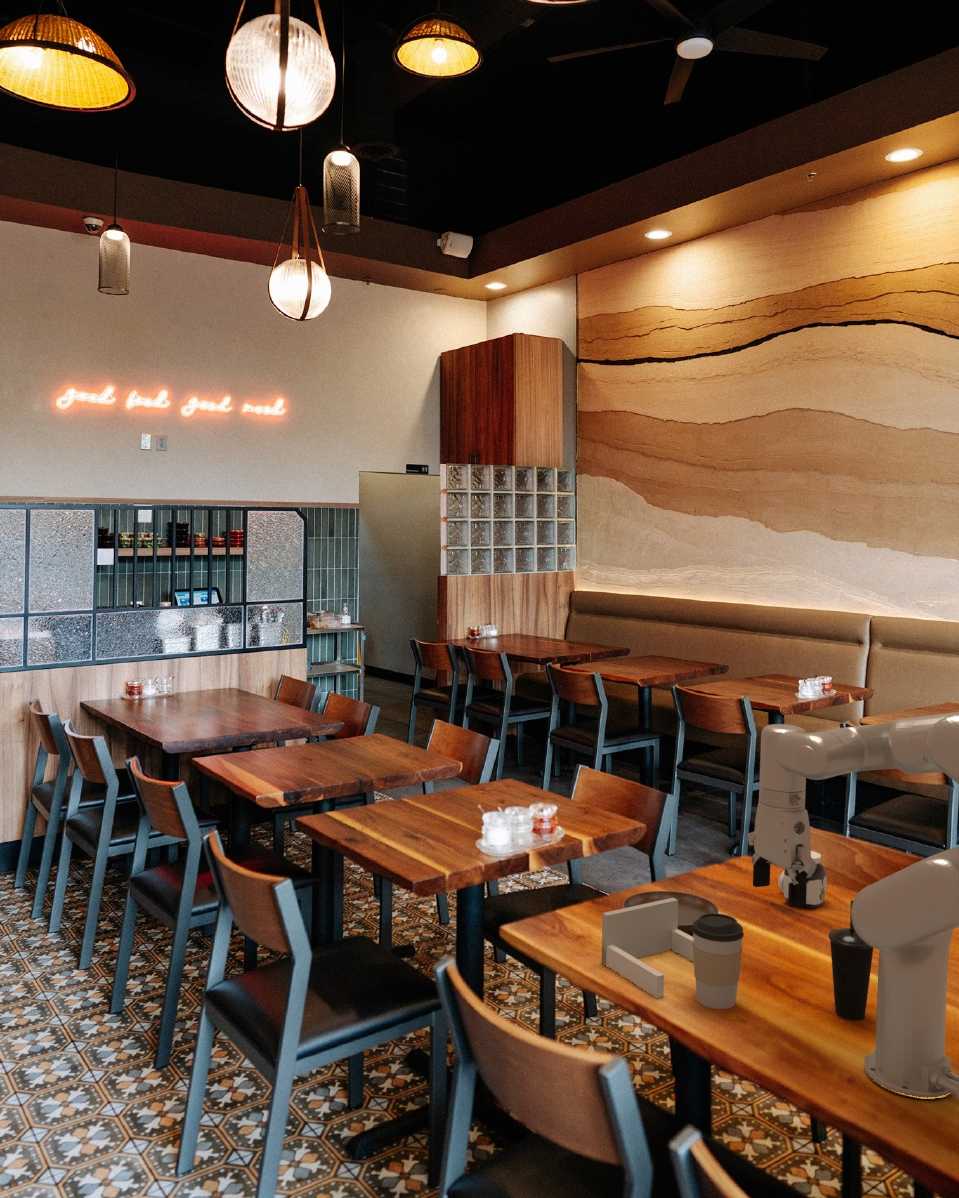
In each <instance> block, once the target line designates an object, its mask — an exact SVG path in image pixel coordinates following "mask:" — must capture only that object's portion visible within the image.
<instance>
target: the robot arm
mask: <svg viewBox="0 0 959 1198" xmlns="http://www.w3.org/2000/svg"><path fill="white" fill-rule="evenodd" d="M759 754H760V755H759V759H760V762H759V784H758V785H759V787H758V788H759V791H758V802H757V803H758V804H757V808H756V809H757V810H756V814H755V820H754V821H755V822H754V831H751V832H748V833H747V834H746V836H747V837H746V838H747V842H748V850H749V853H750V854H751V859H750V861H751V863H752V864H753V865H752V866H753V867H752V868H753V869H752V887H755V888H760V887H769V886H770V884H771V863H772V864H774V865H776V866H777V867H779V868H781V869H784V870H785V869H787V871H788V874H789V876H790V879H791V881H792V883H789V891H788V902H787V904H788V907H790V908H799V906H805V905H806V892H807V883H809V882H810V879H811V878H812V877H813V873H814V871H815V869H816V867H817V864H816V862H815V861H814V860H813V859H812V857H811V851H812V850H811V849H812V846H811V844H812V842H811V828H810V820H809V819H810V818H809V814H808V813H809V812H808V810H807V809H806V790H807V789H806V785H807V780H806V779H809V780H815V781H819V780H820V781H822V780H826V779H829V778H834V777H836V776H840V775H846V774H850V773H857V772H865V771H866V772H867V771H877V770H895V769H897V770H900V771H901V772H902V773H904V774H906V775H914V776H915V775H924V774H936V773H939V774H940V773H944V774H945V775H946V776H948V777H949V778H950V779H951V780H952V781H954V782H955V783H956V784H957V785H959V711H955V712H948V713H947V712H946V713H937V714H931V715H922V716H913V717H904V718H897V719H894V720H893V721H889V722H882V723H874V724H873V723H872V724H863V725H857V726H856V725H855V726H847V727H840V728H833V729H827V730H821V731H817V732H816V731H815V732H810V733H807V732H806V730H805V729H804V728H802V727H800V726H797V725H793V724H785V723H775V724H768V725H766V726H764V727H763V728H762V731H761V735H760V753H759ZM792 863H795V864H793V865H792ZM795 870H799V874H798V875H796V873H795ZM852 901H853V904H852V908H851V907H850V911H851V920H852V924H853V927H854V929H855V931H856V933H857V934H858V935H859V937H860V938H861V939H862V940H863V941H864V942H865V943H867V944H868V945H870V946H871V947H873V949H876V950H878V951H879V953H878V965H877V967H878V969H877V995H876V996H877V998H876V1028H875V1029H876V1033H875V1034H876V1035H875V1036H876V1037H875V1051H872V1052H870V1053H868V1054H867V1055H866V1057H865V1059H864V1064H863V1065H864V1071H865V1073H866V1075H867V1074H868V1075H867V1077H869V1076H870V1077H869V1079H871V1078H872V1079H873V1080H872V1079H871V1080H872V1081H873V1082H874V1081H875V1082H877V1083H879V1084H880V1085H883V1086H884V1087H886V1088H888V1089H890V1090H894V1091H896V1092H900V1093H904V1094H906V1095H912V1096H916V1097H917V1096H918V1097H927V1098H928V1097H938V1096H942V1095H946V1094H948V1093H951V1095H952V1096H955V1097H957V1098H958V1099H959V1074H957V1073H955V1072H954V1071H953V1070H952V1059H951V1058H950V1057H948V1056H946V1055H945V1052H946V1051H945V1049H946V1045H945V1044H946V1020H947V1019H946V1017H947V1015H946V1014H947V986H948V965H949V954H950V947H951V941H952V935H953V931H954V930H955V929H957V928H959V846H956V847H952V848H949V849H946V850H944V851H941V852H938V853H936V854H933V855H931V856H927V857H926V858H923V859H922V860H919V861H917V862H915V863H913V864H910V865H909V866H907V867H905V868H902V869H901V870H899V871H896V872H894V873H893V874H890V875H888V876H886V877H883V878H882V879H880V880H877V881H876V882H874V883H872V884H869V885H867V886H865V887H863V888H862V889H860V891H859V892H858V893H857V894H856V895H855V897H854V899H853V900H852ZM875 1082H874V1083H875Z"/></svg>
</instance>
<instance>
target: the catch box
mask: <svg viewBox="0 0 959 1198" xmlns="http://www.w3.org/2000/svg"><path fill="white" fill-rule="evenodd" d="M601 915H602V917H601V919H602V920H601V924H602V925H601V964H602V963H603V964H605V965H607V966H608V967H610V968H611V969H612V970H611V969H610V968H609V969H610V970H611V971H613V970H614V971H615V973H616V972H617V973H616V974H618V973H619V974H621V975H622V976H623V977H622V976H621V975H620V976H621V977H622V978H624V977H626V978H627V979H629V980H630V981H631V983H632V982H633V983H634V984H633V983H632V984H633V985H635V984H636V985H635V986H637V987H638V986H639V987H638V988H640V989H641V990H644V991H645V992H646V991H647V992H646V993H648V994H649V993H650V995H651V996H653V997H654V998H656V999H661V998H662V997H663V996H664V993H665V990H664V989H665V974H664V973H662V972H660V971H658V970H657V969H655V968H654V967H651V966H650V965H648V964H646V963H645V962H643V961H641V960H640V959H641V958H645V957H649V956H652V955H656V953H657V954H660V953H664V951H665V952H669V951H673V952H675V951H676V952H677V954H678V953H679V955H680V956H682V957H683V958H685V959H687V960H689V961H691V962H693V963H694V957H693V941H694V939H693V935H690V934H686V933H684V932H682V931H680V930H678V900H677V899H675V898H669V899H665V900H660V901H656V902H651V903H646V904H642V905H637V906H633V907H628V908H623V907H622V908H621V909H615V910H610V911H605V912H602V914H601ZM671 949H672V950H671ZM668 950H669V951H668ZM676 952H675V953H676ZM603 964H602V965H603ZM605 965H604V966H605ZM608 967H607V968H608ZM614 971H613V972H614ZM619 974H618V975H619ZM626 978H625V979H626ZM627 979H626V980H627ZM629 980H628V981H629ZM630 981H629V982H630Z"/></svg>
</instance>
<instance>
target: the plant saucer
mask: <svg viewBox="0 0 959 1198" xmlns="http://www.w3.org/2000/svg"><path fill="white" fill-rule="evenodd" d="M669 898H675V899H677V900H678V930H680V931H682V932H684V933H686V934H688V935H690V934H693V931H692V927H693V923H694V922H695V921H696V920H698V919H699V917H700V916H701V915H704V914H709V913H718V914H720V913H719V912H720V911H719V907H718V906H717V905H716V904H715V903H713V902H712V901H710V900H709V899H707V898H704V897H701V896H699V895H695V894H692V893H691V894H690V893H687V892H679V891H672V890H671V891H669V890H655V891H646V892H645V891H644V892H640V893H635V894H633V895H629V896H628V897H626V898H625V899H624V901H623V902H622V909H623V908H628V907H633V906H637V905H642V904H646V903H651V902H656V901H660V900H665V899H669Z"/></svg>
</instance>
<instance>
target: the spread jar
mask: <svg viewBox="0 0 959 1198" xmlns="http://www.w3.org/2000/svg"><path fill="white" fill-rule="evenodd" d="M811 857H812V859H813V860H814V861H815V862H816V864H817V867H816V869H815V871H814V873H813V877H812V878H811V879H810V882H809V883H807V892H806V905H805V906H799V907H798V908H799V909H804V908H805V909H806V910H815V909H818V908H820V907H821V906H822V905H823V903H824V900H825V899H826V894H827V893H826V892H827V872H826V871H827V870H826V868H825V866H824V865H823V864H822V854H821V853H819V852H817V851H814V850H811ZM793 864H795V863H792V865H793ZM795 873H796V875H798V874H799V870H795ZM789 883H792V881H791V879H790V876H789V874H788V871H787V869H784V870H783V871H782V872H781V874H780V875H779V876H778V880H777V884H778V887H779V889H780V890H781V891H782V892H783V897H784V900H785V901H786V902H787V903H788V891H789ZM814 908H815V909H814Z"/></svg>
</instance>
